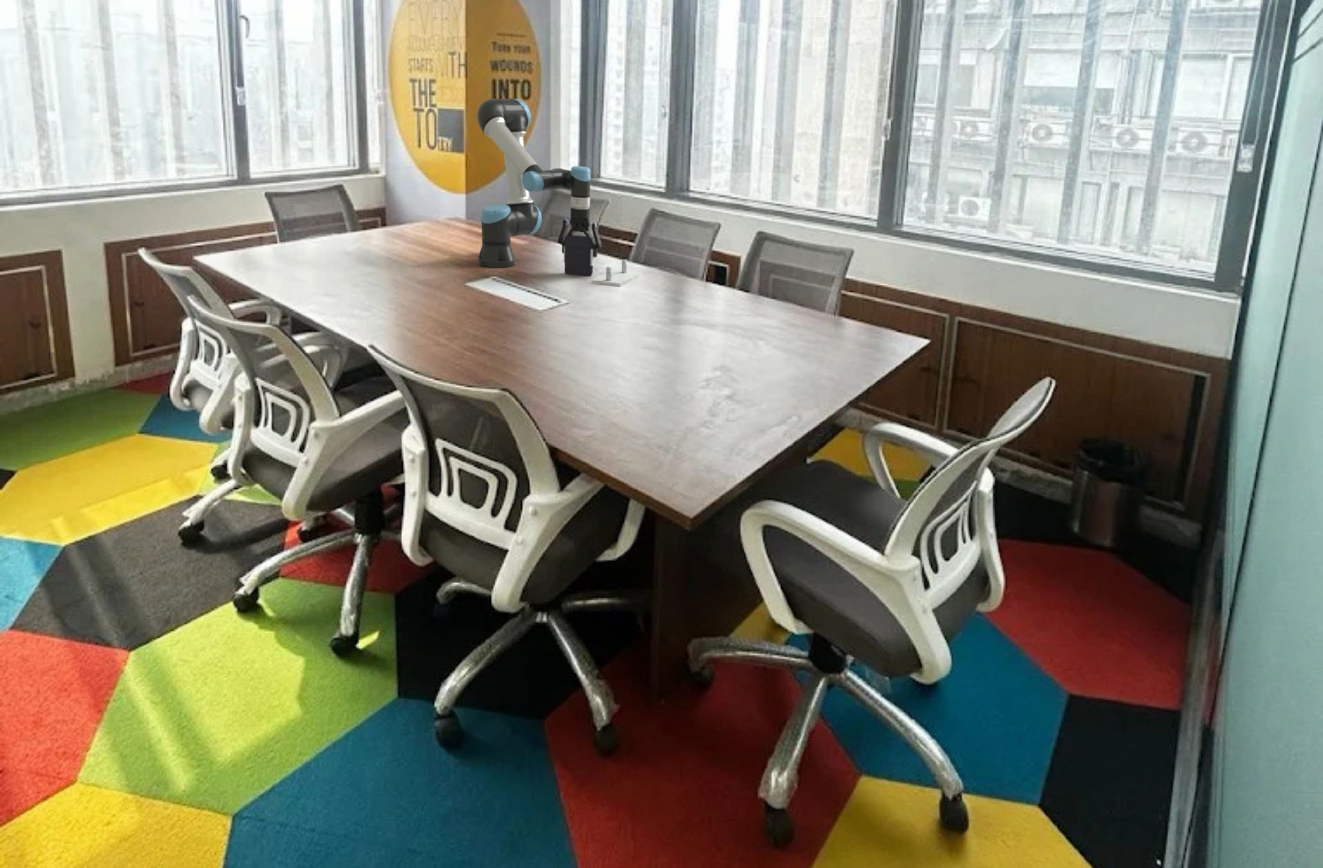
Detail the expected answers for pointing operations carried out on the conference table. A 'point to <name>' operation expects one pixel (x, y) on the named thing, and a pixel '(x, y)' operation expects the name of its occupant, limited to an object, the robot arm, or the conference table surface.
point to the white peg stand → (616, 276)
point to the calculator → (578, 255)
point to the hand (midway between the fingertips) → (579, 263)
